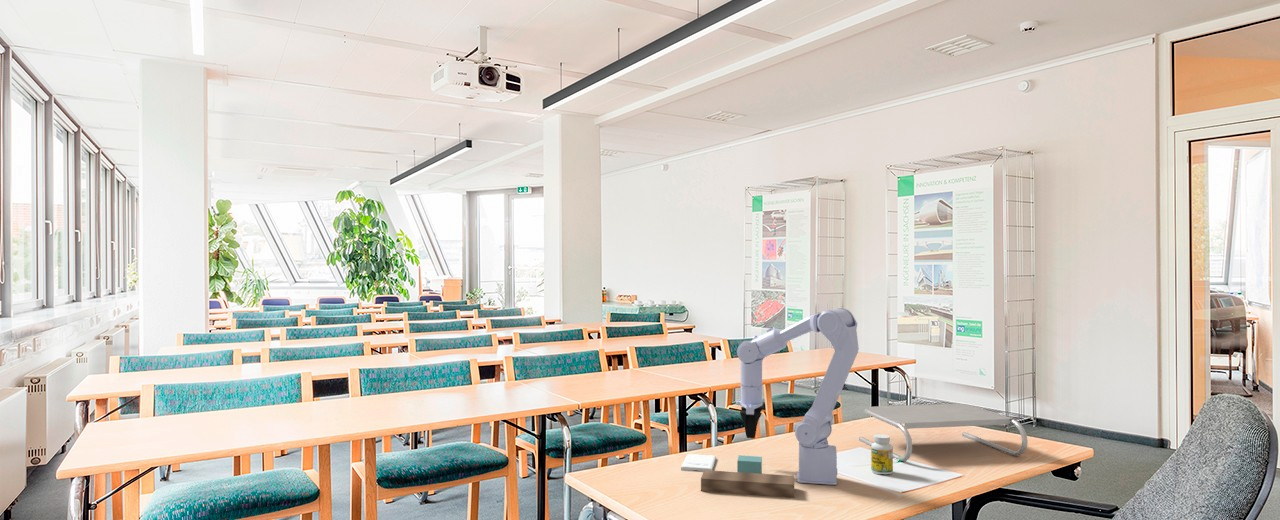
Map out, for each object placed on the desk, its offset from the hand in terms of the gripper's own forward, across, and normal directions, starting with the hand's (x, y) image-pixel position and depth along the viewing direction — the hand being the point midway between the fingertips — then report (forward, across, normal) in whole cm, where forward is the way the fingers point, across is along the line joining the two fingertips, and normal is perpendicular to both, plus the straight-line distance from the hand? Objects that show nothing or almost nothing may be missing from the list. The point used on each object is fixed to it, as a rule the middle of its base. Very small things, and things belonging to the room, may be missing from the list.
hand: (751, 435), depth 190 cm
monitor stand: (+9, -30, +54) cm, 62 cm away
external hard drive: (+9, 0, -14) cm, 17 cm away
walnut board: (+8, +19, 0) cm, 21 cm away
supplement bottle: (+9, -2, +34) cm, 35 cm away
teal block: (+9, +8, 0) cm, 11 cm away
